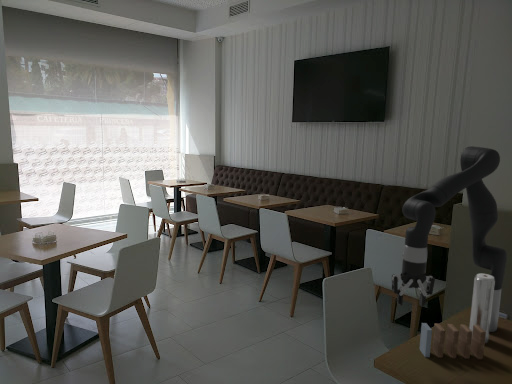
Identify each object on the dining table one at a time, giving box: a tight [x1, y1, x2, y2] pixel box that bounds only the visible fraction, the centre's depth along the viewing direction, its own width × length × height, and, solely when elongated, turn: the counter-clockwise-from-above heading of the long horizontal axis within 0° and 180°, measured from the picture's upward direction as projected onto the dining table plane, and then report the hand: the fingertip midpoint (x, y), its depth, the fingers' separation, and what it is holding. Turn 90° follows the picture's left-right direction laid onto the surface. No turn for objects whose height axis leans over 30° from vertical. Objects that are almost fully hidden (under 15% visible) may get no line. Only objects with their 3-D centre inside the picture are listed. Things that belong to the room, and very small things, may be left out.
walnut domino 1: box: [431, 323, 446, 359], centre depth 137 cm, size 2×5×10 cm, turn 178°
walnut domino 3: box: [457, 324, 472, 360], centre depth 136 cm, size 2×5×10 cm, turn 178°
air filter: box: [468, 273, 495, 344], centre depth 146 cm, size 6×6×25 cm
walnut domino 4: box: [470, 325, 486, 360], centre depth 136 cm, size 2×5×10 cm, turn 178°
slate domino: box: [419, 322, 433, 358], centre depth 137 cm, size 2×5×10 cm, turn 178°
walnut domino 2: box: [444, 323, 460, 359], centre depth 137 cm, size 2×5×10 cm, turn 178°
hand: (410, 304), depth 135 cm, fingers open, 6 cm apart
